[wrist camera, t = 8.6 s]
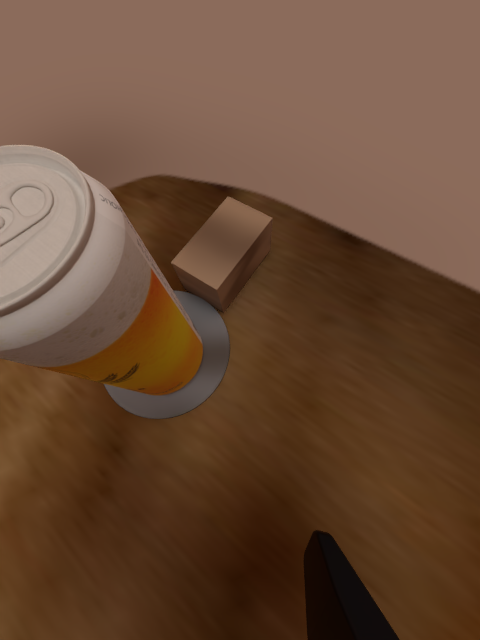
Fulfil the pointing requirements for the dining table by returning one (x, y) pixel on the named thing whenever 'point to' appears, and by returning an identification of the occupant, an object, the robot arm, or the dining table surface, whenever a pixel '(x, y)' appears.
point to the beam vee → (208, 301)
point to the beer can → (84, 282)
